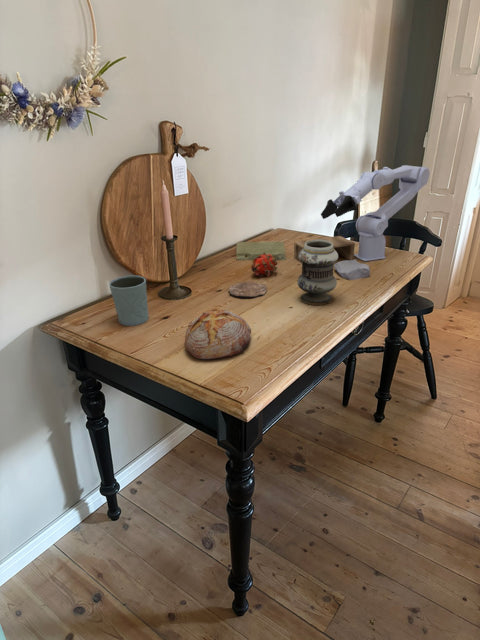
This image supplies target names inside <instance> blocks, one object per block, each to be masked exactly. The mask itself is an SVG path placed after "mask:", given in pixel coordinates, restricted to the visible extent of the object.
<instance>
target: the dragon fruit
mask: <svg viewBox="0 0 480 640" xmlns="http://www.w3.org/2000/svg"><path fill="white" fill-rule="evenodd" d="M251 261H252V265H250V269H251V271H252V272H253V273H254V277H261V276H263V275H266V277H269V276H271V274H272V272H274V271H277V270H278V267H277V265H278V262H277V260H276V258H275V257H274V256H273V254H269V255H267V254H266V253H263V255H258V256H257V257H256V258H255V259H254V260H251Z"/></svg>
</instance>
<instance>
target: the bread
mask: <svg viewBox="0 0 480 640" xmlns="http://www.w3.org/2000/svg"><path fill="white" fill-rule="evenodd" d="M187 327H188V328H186V331H185V336H184V347H185V348H186V350H187V352H188V354H190V355H191V356H193V357H194V358H196V359H198V360H216V359H222V358H226V357H231V356H235V355H238V354H243V352H244V350H245V349H246V348H247V347H248V346H249V343H250V342H251V341H250V340H251V334H252V328H251V327H250V325H249V324H248V323H247V321H246V320H245V319H244V318H243V317H241V316H240V315H238V314H235V313H233V312H231V311H229V310H227V309H222V310H219V309H218V310H217V309H211V310H208V311H205V312H202V313H201V314H200V315H199V316H198V317H196V318H195V319H194V320H192V322H191V323H189V324H188V325H187Z"/></svg>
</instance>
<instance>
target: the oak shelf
mask: <svg viewBox="0 0 480 640" xmlns="http://www.w3.org/2000/svg"><path fill="white" fill-rule="evenodd" d="M310 240H327V241H330V242H332V243H333V248H334V250H335V251H336V252H337V253H338V255H340V256H342V257H343V258H345V259H347V260H349V261H350V260H355V259H354V257H355V256H354V254H355V245H356V242H354V241H352V240H349V239H347V238H346V237H343V236H341V235H337V236H335V235H334V236H329V237H321V238H320V237H319V238H314V239H313V238H312V239H307V240H299V241H293V259H295V260H297V261H299V263H301V264H302V262H301V261H300V260H299V253H300V251H301V250H302V249H304V245H305V242H307V241H310Z"/></svg>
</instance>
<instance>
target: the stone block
mask: <svg viewBox="0 0 480 640" xmlns="http://www.w3.org/2000/svg"><path fill="white" fill-rule="evenodd" d="M370 268H371V267H370V266H369V265H368V264H365V263H360V262H358V261H357V259H353V260H349V259H347V260H342V261H341V260H340V261H337V262H335V263H334V266H333V270H335V271H336V272H337V273H338V275H339V276H340V277H341V278H342V279H345V280H349V281H354V280H359V279H363V278H368V277H370V274H371V269H370Z"/></svg>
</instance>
